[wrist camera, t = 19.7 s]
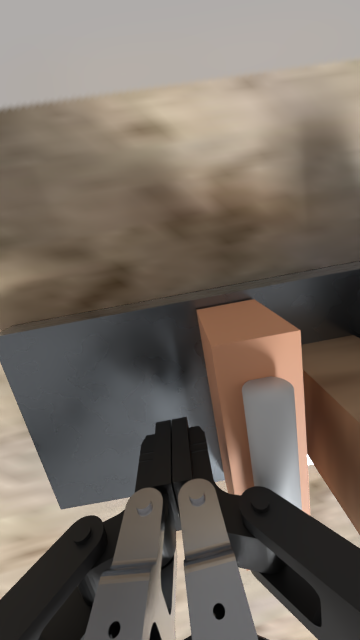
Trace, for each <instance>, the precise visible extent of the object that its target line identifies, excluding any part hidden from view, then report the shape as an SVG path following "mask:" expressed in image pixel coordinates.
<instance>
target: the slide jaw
mask: <svg viewBox="0 0 360 640" xmlns="http://www.w3.org/2000/svg"><path fill="white" fill-rule="evenodd" d="M196 311H197V317H198V323H199V329H200V335H201V341H202V347H203V353H204V359H205V365H206V371H207V377H208V382H209V388H210V394H211V400H212V406H213V412H214V418H215V424H216V430H217V436H218V442H219V448H220V454H221V460H222V465H223V471H224V477H225V481H226V486H227V490H228V493H229V494H234V495H242V493H243V492H244V491H245V490H247V489H248V488H251V487H254V486H262V487H266V488H268V489H270V490H272V491H273V492H275V493H276V494H278V495H280V496H281V497H283V498H284V499H286V500H287V501H289V502H290V503H292V504H293V505H295V506H296V507H298V508H299V509H301V510H302V511H304V512H305V513H307V514H308V515H310V497H309V478H308V460H307V441H306V422H305V404H304V385H303V367H302V348H301V330H299V329H298V328H296V327H295V326H293V325H292V324H290V323H289V322H288V321H286V320H285V319H283V318H282V317H280V316H279V315H277V314H276V313H274V312H273V311H271V310H270V309H268V308H267V307H265V306H264V305H262V304H261V303H259V302H258V301H256V300H255V299H252V300H247V301H241V302H236V303H231V304H225V305H220V306H214V307H209V308H204V309H198V310H196ZM310 516H311V515H310ZM246 570H247V571H248V569H246Z"/></svg>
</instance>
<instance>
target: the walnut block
mask: <svg viewBox="0 0 360 640" xmlns="http://www.w3.org/2000/svg"><path fill="white" fill-rule="evenodd" d="M301 348H302V367H303V385H304V404H305V422H306V441H307V455H308V456H309V458H310V459H311V461H312V462H313V464H314V466H315V467H316V469H317V470H318V472H319V473H320V475H321V476H322V478H323V479H324V481H325V482H326V484H327V485H328V487H329V489H330V490H331V492H332V493H333V495H334V496H335V498H336V499H337V501H338V502H339V504H340V505H341V507H342V508H343V510H344V511H345V513H346V515H347V516H348V518H349V519H350V521H351V522H352V524H353V525H354V527H355V528H356V530H357V531H358V533H359V534H360V338H358V337H356V336H354V335H351V336H346V337H340V338H335V339H330V340H324V341H319V342H314V343H309V344H303V345H301Z"/></svg>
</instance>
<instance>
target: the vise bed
mask: <svg viewBox="0 0 360 640" xmlns="http://www.w3.org/2000/svg"><path fill="white" fill-rule="evenodd" d="M252 299H255V300H256V301H258V302H259V303H261V304H262V305H264V306H265V307H267V308H268V309H270V310H271V311H273V312H274V313H276V314H277V315H279V316H280V317H282V318H283V319H285V320H286V321H288V322H289V323H290V324H292V325H293V326H295V327H296V328H298V329H299V330H301V345H303V344H309V343H314V342H319V341H324V340H330V339H335V338H340V337H346V336H351V335H354V336H356V337H358V338H360V261H357V262H352V263H347V264H341V265H336V266H331V267H325V268H320V269H315V270H309V271H304V272H299V273H293V274H288V275H282V276H277V277H272V278H266V279H261V280H256V281H250V282H245V283H240V284H234V285H229V286H224V287H218V288H213V289H207V290H202V291H197V292H191V293H186V294H181V295H175V296H170V297H165V298H159V299H154V300H149V301H143V302H138V303H132V304H127V305H122V306H116V307H111V308H106V309H100V310H95V311H90V312H84V313H79V314H74V315H68V316H63V317H57V318H52V319H47V320H41V321H36V322H31V323H25V324H20V325H15V326H11V327H9V328H7V329H6V330H4V331H2V332H0V362H1V365H2V367H3V370H4V372H5V374H6V377H7V379H8V382H9V384H10V387H11V389H12V392H13V394H14V396H15V399H16V401H17V404H18V406H19V409H20V411H21V413H22V416H23V418H24V421H25V423H26V426H27V428H28V430H29V433H30V435H31V438H32V440H33V443H34V445H35V447H36V450H37V452H38V455H39V457H40V460H41V462H42V465H43V467H44V469H45V472H46V474H47V477H48V479H49V482H50V484H51V486H52V489H53V491H54V494H55V496H56V499H57V501H58V503H59V506H60V508H61V509H66V508H71V507H77V506H83V505H88V504H94V503H100V502H105V501H111V500H116V499H122V498H128V497H131V496H132V495H133V494H134V493H135V486H136V479H137V471H138V464H139V456H140V449H141V444H142V442H143V440H144V439H145V437H146V436H147V435H152V434H155V426H156V422H160V421H166V420H171V421H172V419H176V418H182V417H187V421H188V425H189V427H194V426H200V428H201V429H202V430H203V431H204V432H205V437H206V442H207V447H208V452H209V458H210V463H211V468H212V474H213V479H214V482H217V481H223V480H225V477H224V471H223V465H222V460H221V454H220V448H219V442H218V436H217V430H216V424H215V418H214V412H213V406H212V400H211V394H210V388H209V382H208V377H207V371H206V365H205V359H204V353H203V347H202V341H201V335H200V329H199V323H198V317H197V311H196V310H198V309H204V308H209V307H214V306H220V305H225V304H231V303H236V302H241V301H247V300H252ZM307 460H308V465H312V464H313V462H312V461H311V459H310V458H309V456H308V455H307Z"/></svg>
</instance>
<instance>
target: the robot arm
mask: <svg viewBox="0 0 360 640" xmlns="http://www.w3.org/2000/svg"><path fill="white" fill-rule="evenodd" d="M179 530H182V537H183V546H184V554H185V560H184V572H185V581H186V590H187V599H188V608H189V617H190V626H191V636H189V637H188V638H186V639H184V640H268V639H266V638H264V637H261V636H259V635H257V633H256V630H255V626H254V623H253V619H252V615H251V612H250V608H249V605H248V601H247V598H246V594H245V590H244V587H243V583H242V580H241V576H240V572H239V569H238V567H240V568H244V569H248V570H251V572H252V573H253V575H254V576H255V577H256V578H257V579H258V580H259V581H260V582H261V583H262V584H263V585H264V586H265V587H266V588H267V589H268V590H269V591H270V592H271V593H272V594H273V595H274V596H275V597H276V598H277V599H278V600H279V601H280V602H281V603H282V604H283V605H284V606H285V607H286V608H287V609H288V610H289V611H290V612H291V613H292V614H293V615H294V616H295V617H296V618H297V619H298V620H299V621H300V622H301V623H302V624H303V625H304V626H305V627H306V628H307V629H308V630H309V631H310V632H311V633H312V634H313V635H314V636H315V637H316V638H317V639H318V640H360V548H358V547H357V546H355V545H354V544H352V543H351V542H349V541H348V540H346V539H345V538H343V537H342V536H340V535H339V534H337V533H336V532H334V531H333V530H331V529H330V528H328V527H326V526H325V525H323V524H322V523H320V522H319V521H317V520H316V519H314V518H313V517H311V516H310V515H308V514H307V513H305V512H304V511H302V510H301V509H299V508H298V507H296V506H295V505H293V504H292V503H290V502H289V501H287V500H286V499H284V498H283V497H281V496H280V495H278V494H276V493H275V492H273V491H272V490H270V489H268V488H266V487H262V486H254V487H251V488H248V489H247V490H245V491H244V492H243V493H242V495H234V494H229V493H226V492H224V491H222V490H221V489H220V488H219V487H218V486H217V485H216V484H215V482H214V479H213V474H212V468H211V463H210V458H209V452H208V447H207V442H206V437H205V432H204V431H203V430H202V429H201V428H200V426H194V427H189V425H188V421H187V417H182V418H176V419H172V421H171V420H166V421H160V422H156V426H155V434H152V435H147V436H146V437H145V439H144V440H143V442H142V444H141V449H140V456H139V464H138V471H137V479H136V486H135V493H134V494H133V495H132V496H131V497H130V499H129V500H128V502H127V504H126V507H125V510H124V511H122V512H121V513H120V514H118V515H116V516H114V517H112V518H110V519H108V520H106V521H105V522H102V520H101V519H100V518H99V517H97V516H92V515H91V516H86V517H83V518H81V519H79V520H78V521H76V522H75V523H74V524H73V525H72V526H71V527H70V528H69V529H68V530H67V531H66V532H65V533H64V534H63V535H62V536H61V537H60V538H59V539H58V540H57V541H56V542H55V543H54V544H53V545H52V546H51V548H50V549H49V550H48V551H47V552H46V553H45V554H44V555H43V556H42V557H41V558H40V559H39V560H38V561H37V562H36V563H35V564H34V565H33V566H32V567H31V568H30V569H29V570H28V571H27V573H26V574H25V575H24V576H23V577H22V578H21V579H20V580H19V581H18V582H17V583H16V584H15V585H14V586H13V587H12V588H11V589H10V590H9V591H8V592H7V593H6V594H5V595H4V596H3V597H2V599H1V600H0V640H176V632H175V601H176V575H177V550H176V531H179Z"/></svg>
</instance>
